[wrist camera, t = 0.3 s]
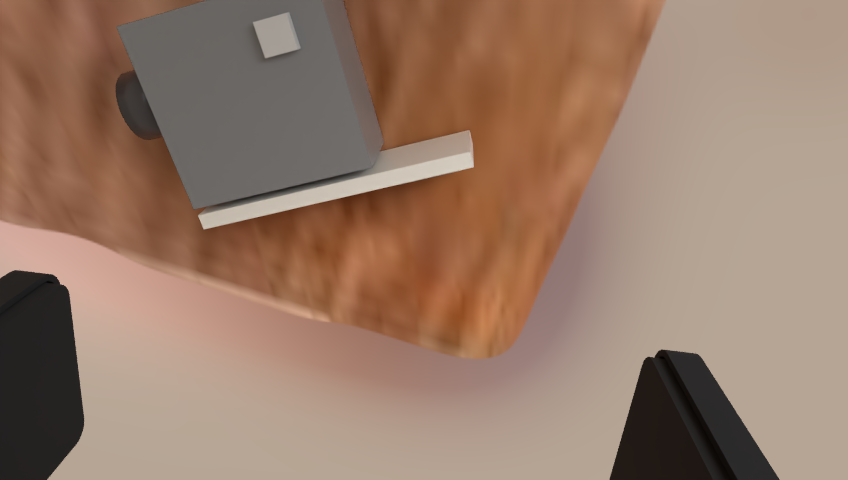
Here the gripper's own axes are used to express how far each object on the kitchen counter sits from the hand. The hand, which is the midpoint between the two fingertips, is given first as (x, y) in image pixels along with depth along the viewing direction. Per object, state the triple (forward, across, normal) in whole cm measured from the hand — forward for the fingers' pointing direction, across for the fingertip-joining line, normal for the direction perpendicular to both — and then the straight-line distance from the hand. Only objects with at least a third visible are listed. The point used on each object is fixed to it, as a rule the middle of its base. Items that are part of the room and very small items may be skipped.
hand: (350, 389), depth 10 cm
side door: (+34, +5, +7) cm, 36 cm away
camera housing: (+35, +12, +2) cm, 37 cm away
